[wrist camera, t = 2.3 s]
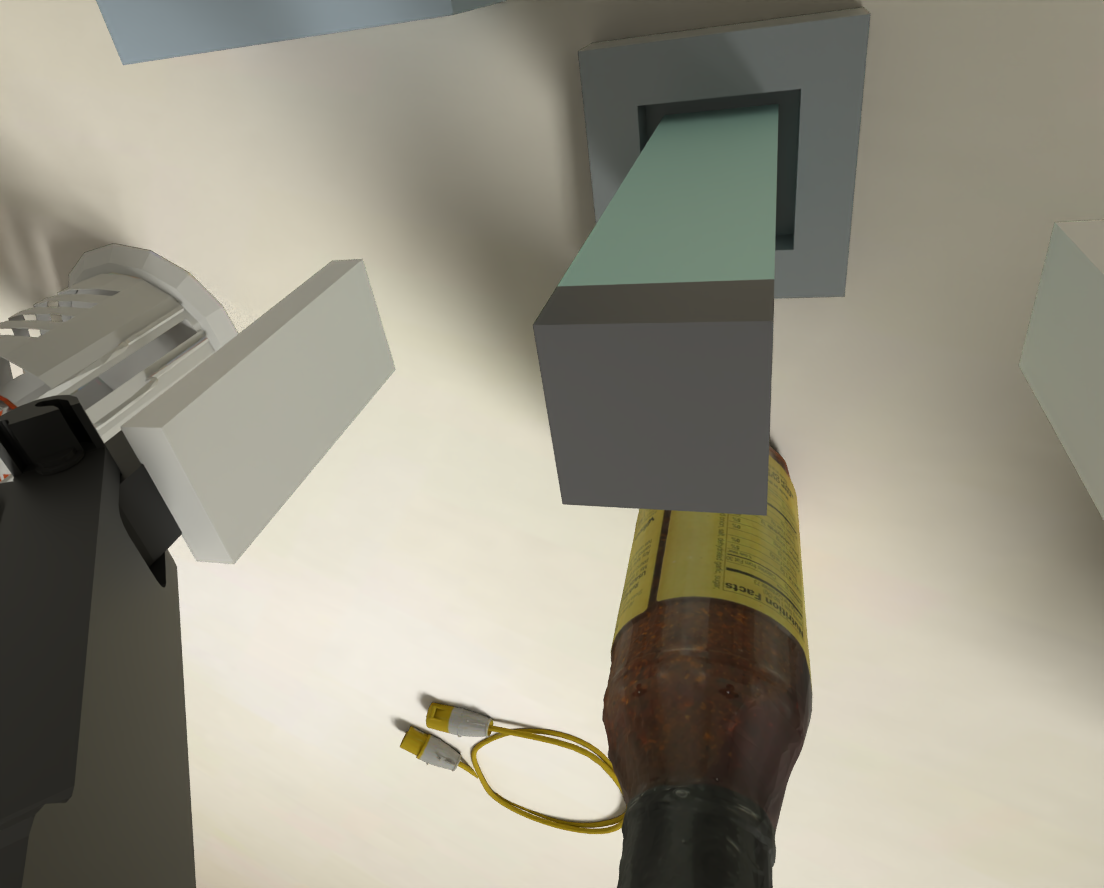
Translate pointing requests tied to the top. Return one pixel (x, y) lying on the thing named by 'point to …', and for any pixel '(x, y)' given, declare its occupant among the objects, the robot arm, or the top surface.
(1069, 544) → the top surface
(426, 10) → the port
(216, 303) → the french press
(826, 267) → the holster
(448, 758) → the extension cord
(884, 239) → the top surface
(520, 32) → the top surface
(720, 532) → the sauce bottle
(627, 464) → the plug
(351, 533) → the top surface
